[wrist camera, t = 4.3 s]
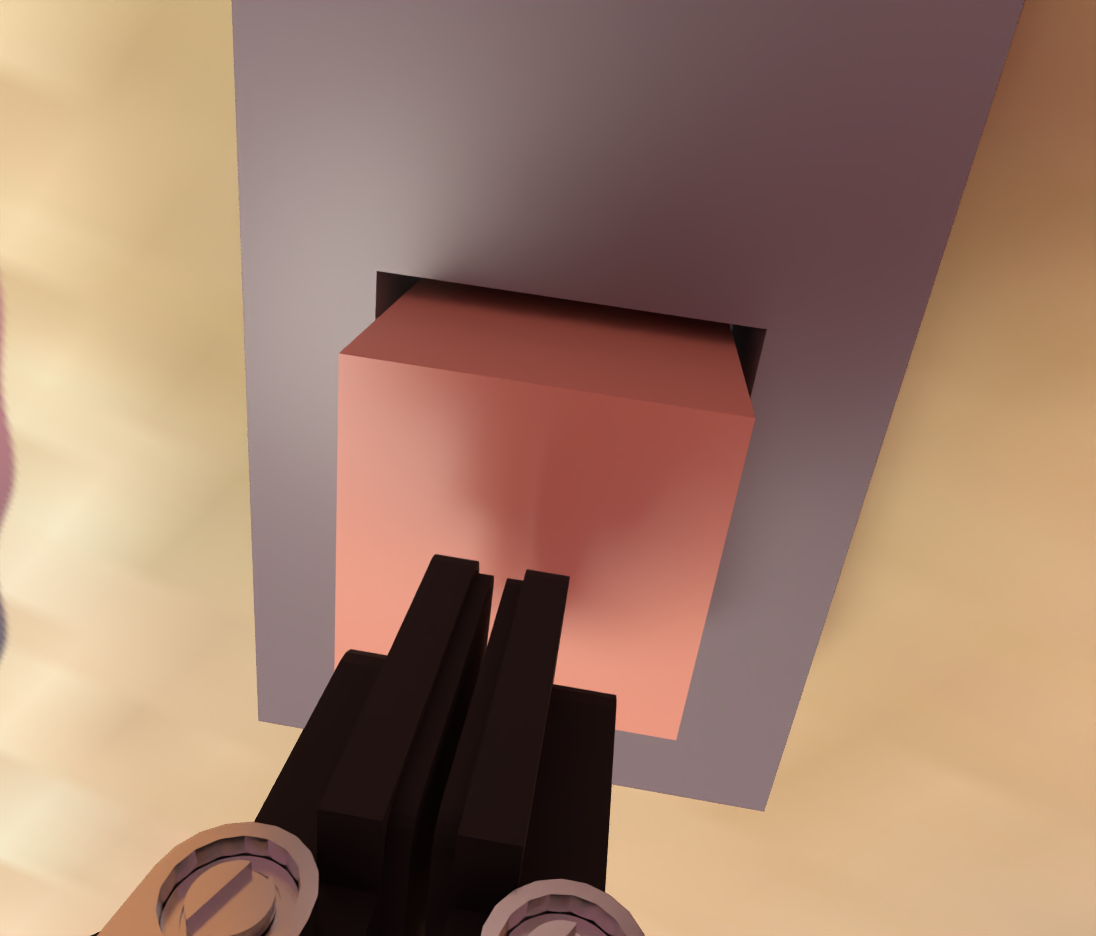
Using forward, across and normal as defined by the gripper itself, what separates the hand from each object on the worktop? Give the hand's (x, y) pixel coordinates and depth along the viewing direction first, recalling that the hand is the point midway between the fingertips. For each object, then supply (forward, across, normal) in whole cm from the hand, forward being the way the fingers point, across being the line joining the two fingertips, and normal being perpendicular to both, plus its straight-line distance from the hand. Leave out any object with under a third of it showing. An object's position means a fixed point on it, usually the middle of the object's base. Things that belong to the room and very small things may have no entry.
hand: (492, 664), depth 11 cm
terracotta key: (+7, 0, 0) cm, 7 cm away
